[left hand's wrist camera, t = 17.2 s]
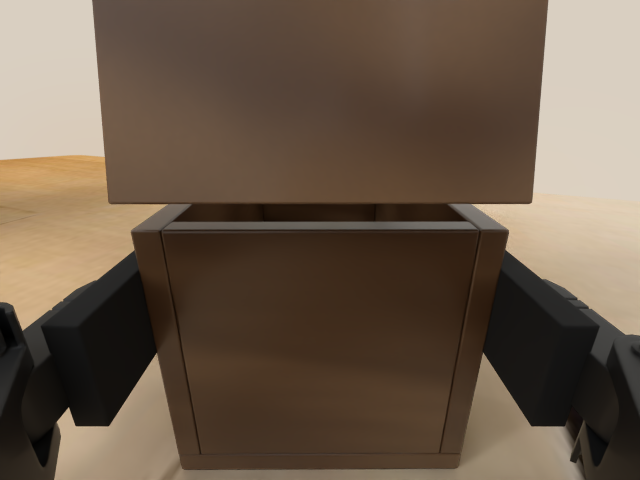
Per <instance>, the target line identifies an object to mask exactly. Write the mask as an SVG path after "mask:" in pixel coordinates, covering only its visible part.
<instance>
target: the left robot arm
mask: <svg viewBox="0 0 640 480" xmlns="http://www.w3.org/2000/svg"><path fill="white" fill-rule="evenodd" d="M483 352H484V354H485V356H486V357H487V359H488V360H489V362H490V363H491V365H492V366H493V368H494V369H495V371H496V372H497V374H498V376H499V377H500V379H501V380H502V382H503V383H504V385H505V386H506V388H507V389H508V391H509V392H510V394H511V396H512V397H513V399H514V400H515V402H516V403H517V405H518V406H519V408H520V409H521V411H522V412H523V414H524V416H525V417H526V419H527V420H528V422H529V423H530V425H531V426H565V424H566V421H567V418H568V416H569V413H570V410H571V407H572V406H573V407H574V409H575V410H576V411H577V412H578V413H579V415H580V416H581V417H582V418H583V419H584V421H583V424H582V427H581V429H580V432H579V435H578V437H577V440H576V442H575V445H574V448H573V450H572V453H571V458H570V461H571V462H574V463H576V462H577V459H578V457H579V455H581V454H582V457H583V463H584V469H585V475H586V480H640V336H638V335H625V334H624V333H622V332H621V331H620V330H618V329H617V328H616V327H614V326H613V325H612V324H610V323H609V322H608V321H607V320H605V319H604V318H603V317H601V316H600V315H599V314H597V313H596V312H595V311H593V310H592V309H589V307H588V306H587V305H586V304H584V303H583V302H582V301H580V300H577V298H576V297H575V296H574V295H573V294H571V293H570V292H569V291H567V290H566V289H565V288H563V287H561V286H559V285H557V284H555V283H552V282H550V281H548V280H546V279H541V278H540V277H538V276H537V275H536V274H535V273H533V272H532V271H531V270H530V269H528V268H527V267H526V266H525V265H523V264H522V263H521V262H520V261H518V260H517V259H516V258H515V257H513V256H512V255H511V254H510V253H508V252H507V251H506V250H505V253H504V258H503V262H502V267H501V271H500V275H499V280H498V285H497V289H496V294H495V298H494V303H493V308H492V312H491V317H490V322H489V326H488V331H487V335H486V340H485V345H484V349H483ZM156 353H157V351H156V346H155V341H154V337H153V332H152V328H151V323H150V318H149V314H148V309H147V304H146V300H145V295H144V290H143V286H142V281H141V277H140V272H139V267H138V263H137V258H136V253H135V250H134V251H133V252H132V253H131V254H129V255H128V256H127V257H126V258H124V259H123V260H122V261H121V262H119V263H118V264H117V265H116V266H114V267H113V268H112V269H111V270H109V271H108V272H107V273H106V274H105V275H103V276H102V277H101V278H100V279H98V280H97V281H93V282H91V283H89V284H87V285H85V286H82V287H80V288H78V289H76V290H75V291H74V292H72V293H71V294H70V295H69V296H67V297H66V298H65V299H63V302H60V303H58V304H57V305H56V306H54V307H53V308H52V310H49V311H48V312H47V313H45V314H44V315H43V316H41V317H40V318H39V319H38V320H36V321H35V322H34V323H32V324H31V325H30V326H28V327H27V328H26V329H25V330H23V331H22V329H21V326H20V323H19V321H18V318H17V315H16V313H15V310H14V307H13V306H12V305H10V304H8V303H3V302H0V480H54V477H55V470H56V464H57V458H58V452H59V445H60V439H61V435H60V429H59V427H58V424H57V421H58V420H59V418H60V417H61V416H62V415H63V413H64V412H65V411H66V410H67V409H68V407H69V409H70V411H71V414H72V417H73V420H74V423H75V426H109V425H110V424H111V422H112V421H113V419H114V418H115V416H116V415H117V413H118V411H119V410H120V408H121V407H122V405H123V404H124V402H125V401H126V399H127V398H128V396H129V395H130V393H131V391H132V390H133V388H134V387H135V385H136V384H137V382H138V381H139V379H140V378H141V376H142V375H143V373H144V371H145V370H146V368H147V367H148V365H149V364H150V362H151V361H152V359H153V358H154V356H155V354H156Z"/></svg>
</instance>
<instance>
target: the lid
mask: <svg viewBox="0 0 640 480" xmlns="http://www.w3.org/2000/svg"><path fill="white" fill-rule="evenodd" d="M92 2H93V15H94V27H95V40H96V52H97V64H98V77H99V89H100V102H101V114H102V126H103V139H104V151H105V164H106V176H107V188H108V201H109V203H110V204H530V203H532V197H533V184H534V171H535V159H536V146H537V134H538V122H539V109H540V97H541V84H542V72H543V60H544V47H545V34H546V22H547V10H548V0H92Z"/></svg>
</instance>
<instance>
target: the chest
mask: <svg viewBox="0 0 640 480" xmlns="http://www.w3.org/2000/svg"><path fill="white" fill-rule="evenodd" d="M131 235H132V239H133V244H134V249H135V253H136V258H137V263H138V267H139V272H140V277H141V281H142V286H143V290H144V295H145V300H146V304H147V309H148V314H149V318H150V323H151V328H152V332H153V337H154V341H155V346H156V351H157V355H158V360H159V365H160V369H161V374H162V378H163V383H164V388H165V392H166V397H167V402H168V406H169V411H170V416H171V420H172V425H173V429H174V434H175V439H176V443H177V448H178V453H179V454H180V460H181V465H182V468H183V469H356V468H457V467H458V464H459V459H460V453H461V451H462V446H463V441H464V437H465V432H466V428H467V423H468V419H469V414H470V409H471V405H472V400H473V396H474V391H475V386H476V382H477V377H478V373H479V368H480V363H481V359H482V354H483V349H484V345H485V340H486V335H487V331H488V326H489V322H490V317H491V312H492V308H493V303H494V298H495V294H496V289H497V285H498V280H499V275H500V271H501V267H502V262H503V258H504V253H505V248H506V244H507V239H508V235H509V230H508V229H506V228H505V227H503V226H502V225H501V224H499V223H498V222H496V221H495V220H493V219H492V218H490V217H489V216H487V215H486V214H485V213H483V212H482V211H480V210H479V209H477V208H476V207H474V206H473V205H471V204H168V205H167V206H165V207H164V208H162V209H161V210H160V211H158V212H157V213H155V214H154V215H152V216H151V217H150V218H148V219H147V220H145V221H144V222H142V223H141V224H140V225H138V226H137V227H135V228H134V229H133V230H131Z"/></svg>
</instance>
